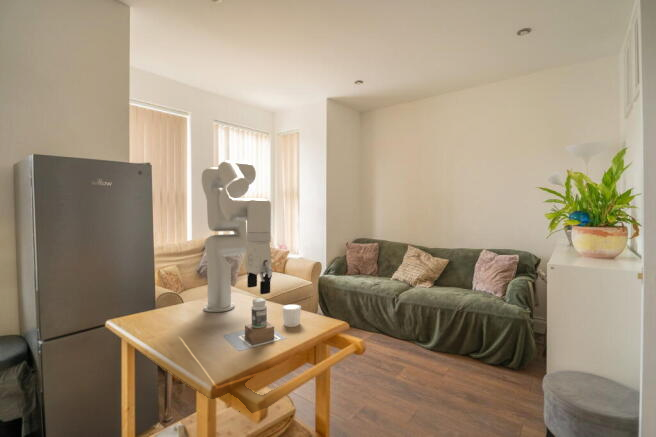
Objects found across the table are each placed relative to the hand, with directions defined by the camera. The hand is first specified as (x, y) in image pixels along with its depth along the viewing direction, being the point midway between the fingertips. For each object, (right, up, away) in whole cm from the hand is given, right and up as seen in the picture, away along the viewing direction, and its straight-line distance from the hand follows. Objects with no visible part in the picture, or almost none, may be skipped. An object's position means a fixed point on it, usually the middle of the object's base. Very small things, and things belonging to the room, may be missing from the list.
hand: (258, 290), depth 103 cm
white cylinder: (+9, -16, +13) cm, 23 cm away
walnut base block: (0, -15, 0) cm, 15 cm away
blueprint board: (-2, -16, +1) cm, 16 cm away
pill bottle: (0, -12, 0) cm, 12 cm away
